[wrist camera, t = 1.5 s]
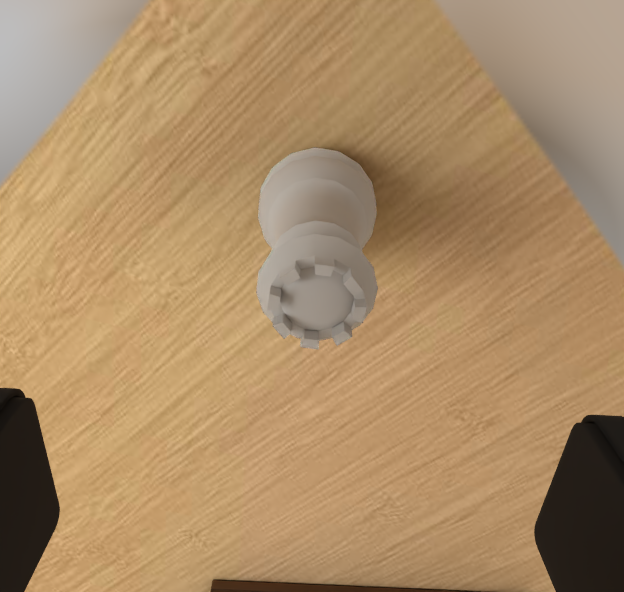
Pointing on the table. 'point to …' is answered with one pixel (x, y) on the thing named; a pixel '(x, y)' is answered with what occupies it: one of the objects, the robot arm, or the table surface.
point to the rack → (300, 588)
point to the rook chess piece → (317, 246)
